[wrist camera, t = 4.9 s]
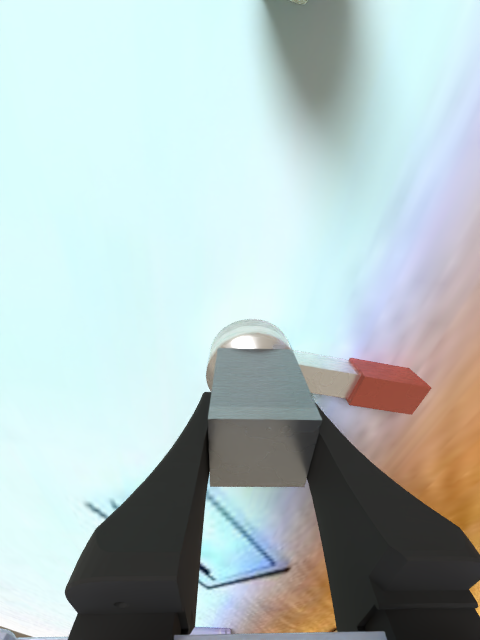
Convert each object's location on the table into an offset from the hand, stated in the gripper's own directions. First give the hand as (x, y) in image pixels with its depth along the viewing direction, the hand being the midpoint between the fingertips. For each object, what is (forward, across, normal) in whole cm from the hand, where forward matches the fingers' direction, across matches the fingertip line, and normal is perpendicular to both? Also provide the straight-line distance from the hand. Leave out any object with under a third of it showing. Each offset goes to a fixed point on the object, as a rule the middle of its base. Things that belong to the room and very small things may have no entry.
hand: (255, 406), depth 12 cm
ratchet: (+5, -5, +1) cm, 7 cm away
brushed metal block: (+2, 0, 0) cm, 2 cm away
